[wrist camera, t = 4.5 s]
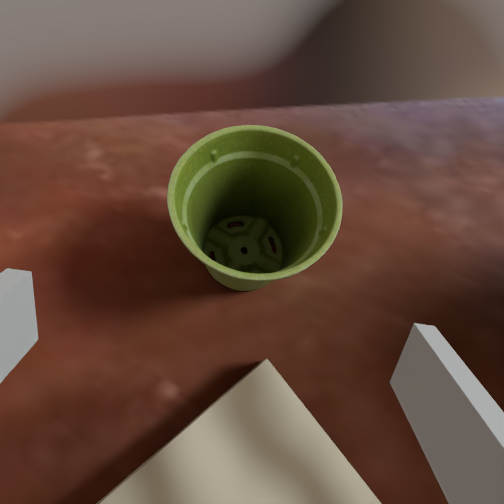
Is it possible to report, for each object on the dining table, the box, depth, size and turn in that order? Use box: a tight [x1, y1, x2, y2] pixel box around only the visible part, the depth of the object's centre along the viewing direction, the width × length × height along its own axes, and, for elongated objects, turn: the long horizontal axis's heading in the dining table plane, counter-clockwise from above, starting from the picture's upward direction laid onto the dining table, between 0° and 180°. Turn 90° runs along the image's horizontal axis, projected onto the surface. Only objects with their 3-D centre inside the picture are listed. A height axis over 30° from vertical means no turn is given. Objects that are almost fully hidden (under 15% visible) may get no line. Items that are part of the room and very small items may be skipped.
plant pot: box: [167, 125, 342, 291], centre depth 23 cm, size 9×9×9 cm
